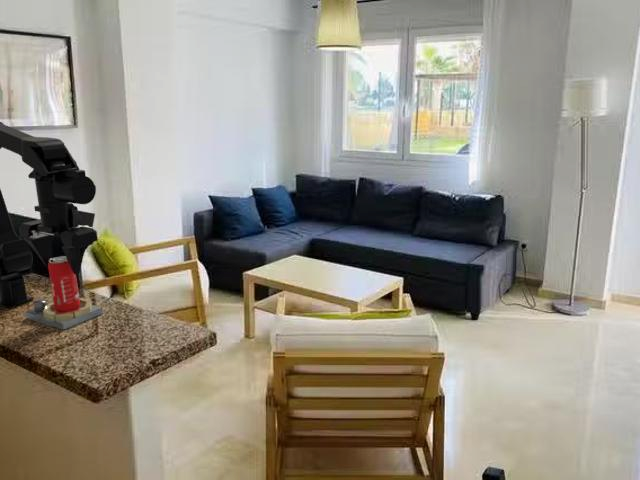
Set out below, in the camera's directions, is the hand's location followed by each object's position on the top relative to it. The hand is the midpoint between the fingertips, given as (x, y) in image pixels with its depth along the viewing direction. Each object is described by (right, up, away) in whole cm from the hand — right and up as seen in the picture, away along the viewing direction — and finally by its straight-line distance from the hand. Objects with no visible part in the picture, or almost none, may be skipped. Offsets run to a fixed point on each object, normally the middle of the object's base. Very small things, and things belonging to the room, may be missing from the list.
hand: (63, 270), depth 124 cm
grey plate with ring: (-1, -10, +4) cm, 11 cm away
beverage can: (0, -9, +3) cm, 10 cm away
